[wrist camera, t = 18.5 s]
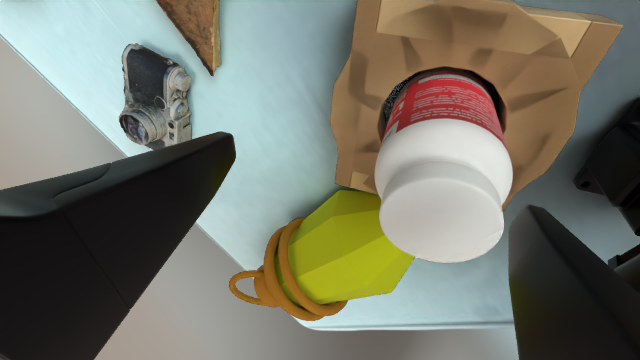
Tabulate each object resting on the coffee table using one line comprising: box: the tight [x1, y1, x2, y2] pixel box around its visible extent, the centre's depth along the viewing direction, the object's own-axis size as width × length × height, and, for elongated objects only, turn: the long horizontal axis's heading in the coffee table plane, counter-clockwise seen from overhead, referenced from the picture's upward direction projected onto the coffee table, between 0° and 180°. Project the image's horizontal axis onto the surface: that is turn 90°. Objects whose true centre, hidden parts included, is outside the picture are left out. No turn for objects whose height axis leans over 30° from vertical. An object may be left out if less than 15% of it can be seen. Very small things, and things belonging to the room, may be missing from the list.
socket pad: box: [330, 0, 624, 212], centre depth 19 cm, size 14×14×2 cm
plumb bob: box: [229, 190, 415, 321], centre depth 27 cm, size 9×9×25 cm
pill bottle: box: [375, 67, 513, 263], centre depth 16 cm, size 6×6×11 cm
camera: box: [119, 43, 191, 150], centre depth 26 cm, size 5×10×4 cm, turn 159°
